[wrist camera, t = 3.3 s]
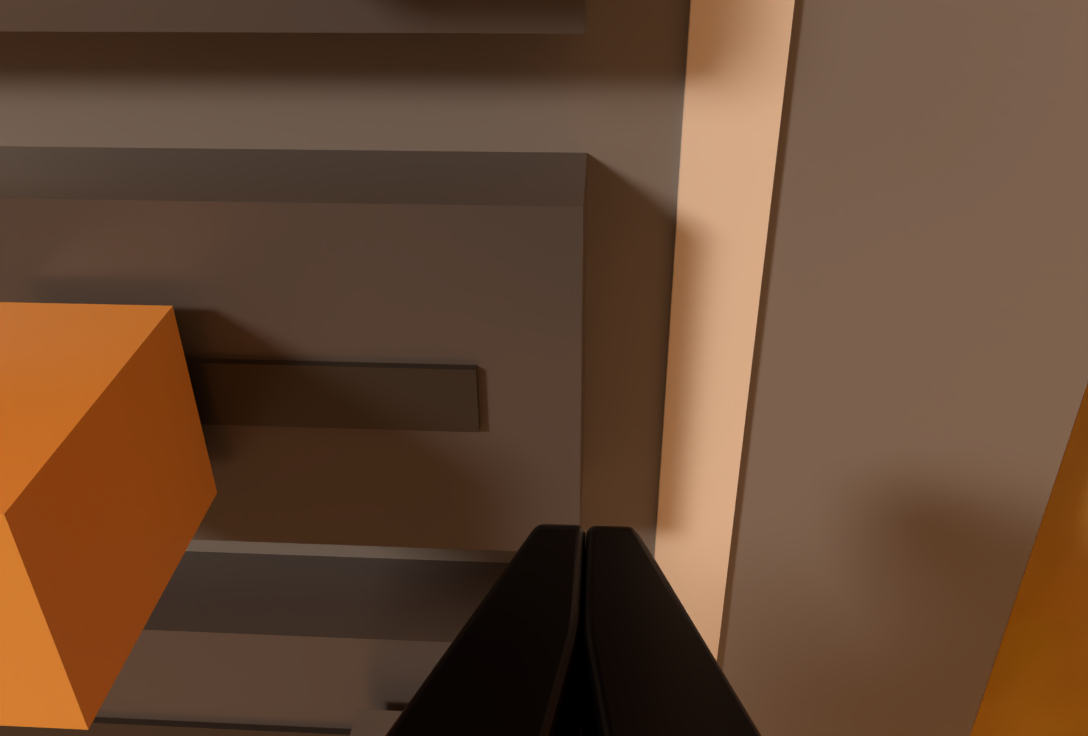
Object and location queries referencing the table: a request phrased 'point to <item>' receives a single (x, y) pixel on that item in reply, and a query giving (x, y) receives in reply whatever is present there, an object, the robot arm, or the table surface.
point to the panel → (853, 307)
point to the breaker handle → (89, 496)
